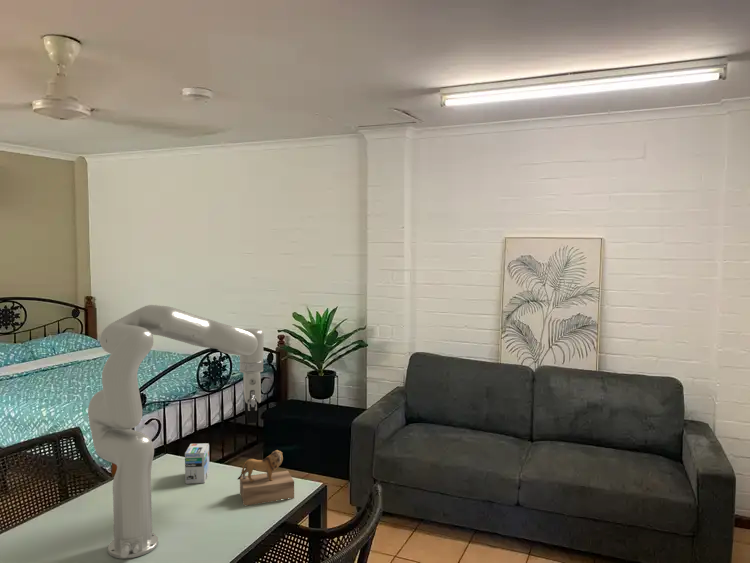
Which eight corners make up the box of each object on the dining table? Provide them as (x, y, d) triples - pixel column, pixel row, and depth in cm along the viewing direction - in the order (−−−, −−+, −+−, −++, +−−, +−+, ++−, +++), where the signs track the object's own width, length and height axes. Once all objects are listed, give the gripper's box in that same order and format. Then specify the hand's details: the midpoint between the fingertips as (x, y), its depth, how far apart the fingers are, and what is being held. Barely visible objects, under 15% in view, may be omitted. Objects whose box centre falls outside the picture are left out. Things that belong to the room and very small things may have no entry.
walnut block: (294, 499, 190) (294, 481, 190) (244, 507, 185) (243, 488, 184) (288, 487, 199) (287, 470, 199) (240, 494, 194) (239, 476, 194)
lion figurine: (281, 473, 196) (282, 447, 196) (283, 480, 191) (284, 452, 191) (236, 478, 192) (236, 451, 192) (237, 484, 187) (237, 456, 186)
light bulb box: (204, 483, 202) (204, 452, 201) (184, 484, 201) (184, 453, 201) (209, 471, 213) (209, 442, 212) (190, 472, 212) (190, 443, 211)
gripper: (265, 371, 184) (265, 425, 185) (261, 361, 201) (260, 411, 202) (241, 372, 182) (240, 426, 183) (238, 362, 199) (238, 412, 200)
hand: (251, 418), depth 192 cm, fingers open, 9 cm apart
